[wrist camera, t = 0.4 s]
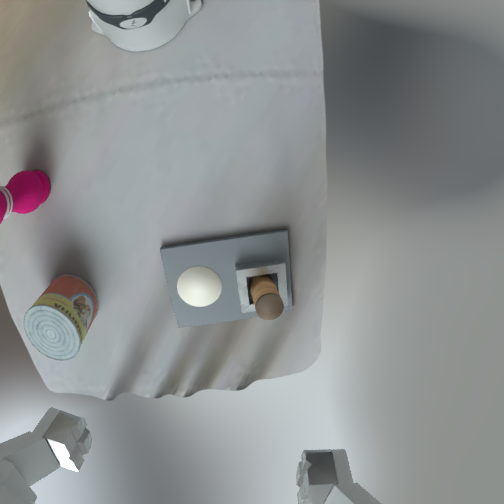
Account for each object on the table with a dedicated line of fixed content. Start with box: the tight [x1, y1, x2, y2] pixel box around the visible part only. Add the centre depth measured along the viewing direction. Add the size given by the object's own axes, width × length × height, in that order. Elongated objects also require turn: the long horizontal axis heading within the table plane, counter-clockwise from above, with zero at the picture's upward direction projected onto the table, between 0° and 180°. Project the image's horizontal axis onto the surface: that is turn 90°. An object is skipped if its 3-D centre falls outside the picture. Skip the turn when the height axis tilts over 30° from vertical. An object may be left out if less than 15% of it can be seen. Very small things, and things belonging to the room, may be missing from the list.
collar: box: [235, 258, 288, 313], centre depth 57 cm, size 8×8×2 cm
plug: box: [249, 274, 284, 320], centre depth 54 cm, size 4×4×9 cm
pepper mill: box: [0, 170, 50, 224], centre depth 38 cm, size 7×7×20 cm
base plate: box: [160, 229, 292, 328], centre depth 58 cm, size 16×22×1 cm
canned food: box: [24, 275, 99, 360], centre depth 50 cm, size 11×11×12 cm
